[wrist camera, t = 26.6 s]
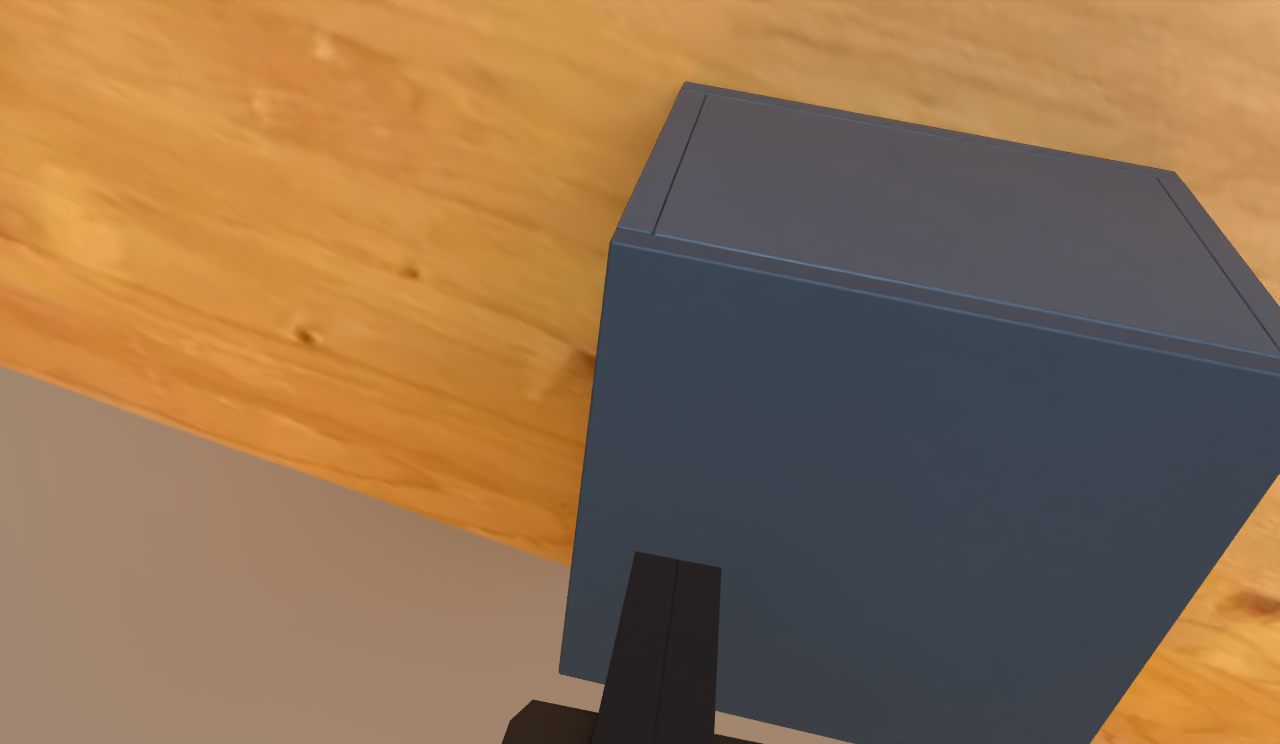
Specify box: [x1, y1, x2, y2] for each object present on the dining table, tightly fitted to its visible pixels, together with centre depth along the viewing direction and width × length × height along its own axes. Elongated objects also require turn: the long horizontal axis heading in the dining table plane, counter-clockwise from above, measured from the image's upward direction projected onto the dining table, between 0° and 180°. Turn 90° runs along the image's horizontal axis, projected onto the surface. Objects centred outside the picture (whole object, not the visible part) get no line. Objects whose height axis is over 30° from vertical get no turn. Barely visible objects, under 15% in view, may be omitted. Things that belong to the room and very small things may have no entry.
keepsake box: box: [616, 82, 1280, 359], centre depth 31 cm, size 16×17×12 cm
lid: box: [559, 229, 1280, 744], centre depth 26 cm, size 17×17×1 cm
